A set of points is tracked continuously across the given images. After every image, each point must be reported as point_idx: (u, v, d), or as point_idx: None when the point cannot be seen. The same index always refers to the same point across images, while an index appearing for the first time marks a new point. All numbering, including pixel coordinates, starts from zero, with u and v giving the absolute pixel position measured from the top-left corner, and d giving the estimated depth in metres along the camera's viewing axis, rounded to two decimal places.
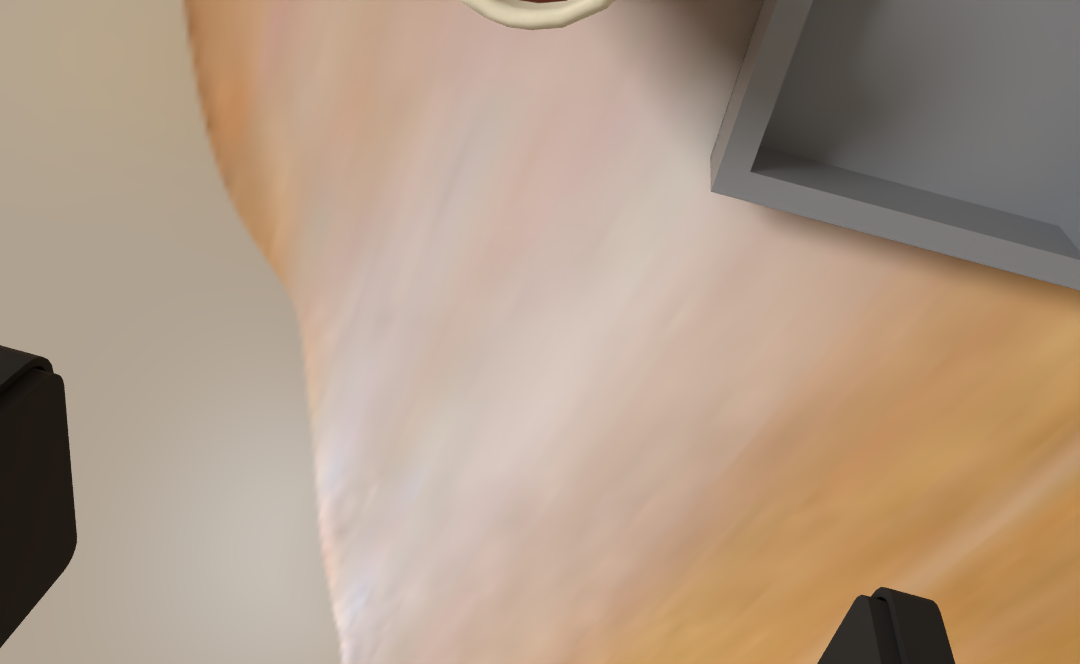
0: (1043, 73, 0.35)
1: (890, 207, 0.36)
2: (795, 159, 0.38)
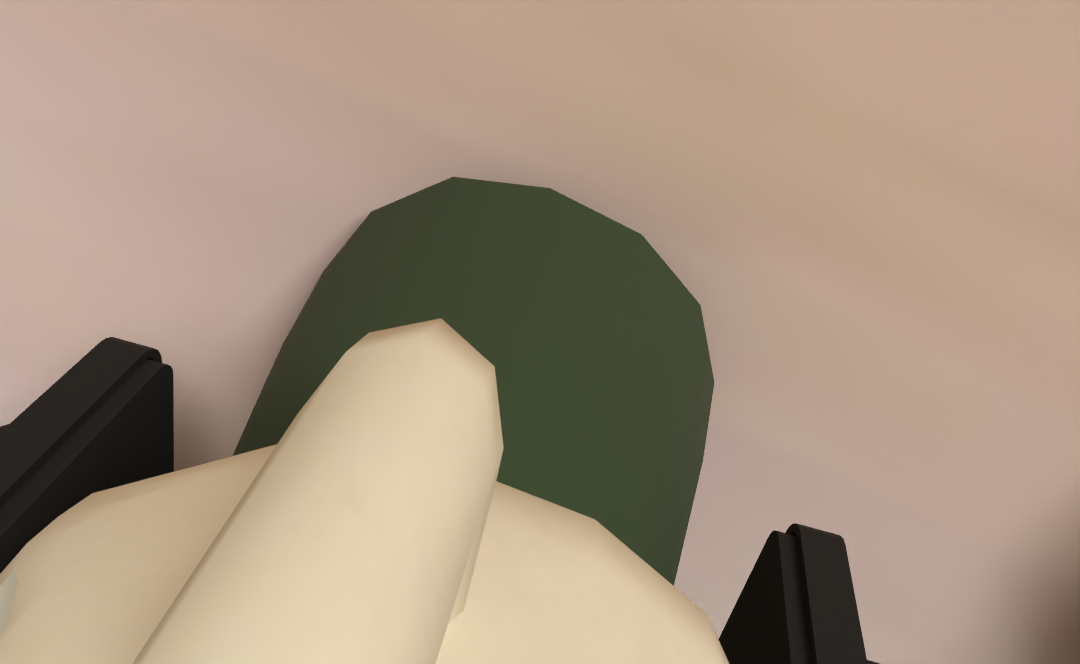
0: None
1: None
2: None
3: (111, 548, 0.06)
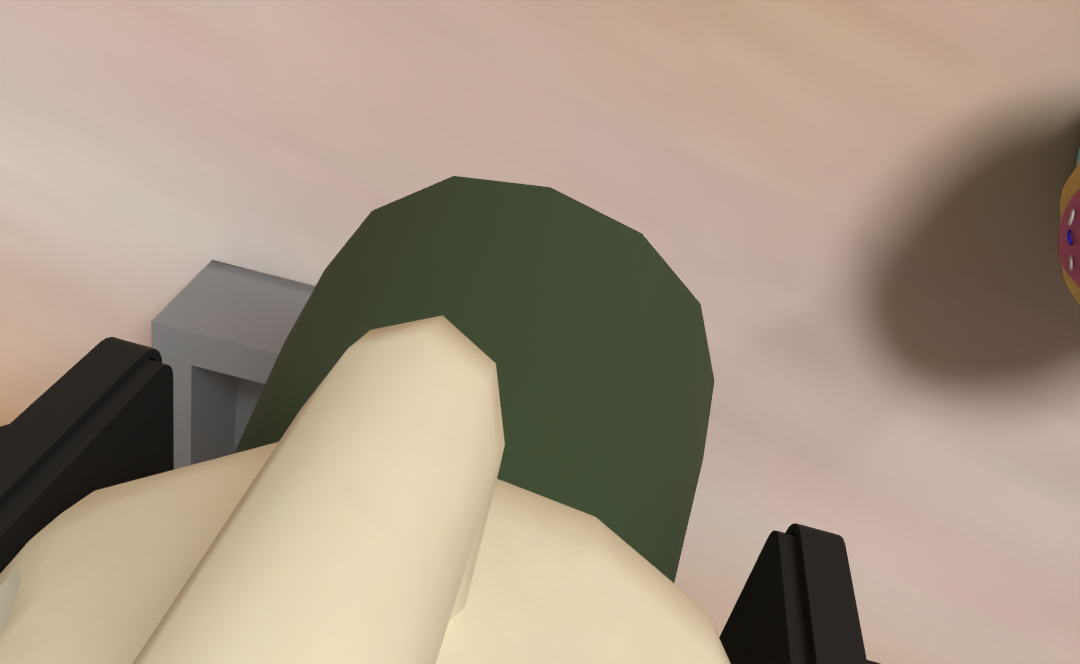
0: None
1: None
2: None
3: (114, 544, 0.06)
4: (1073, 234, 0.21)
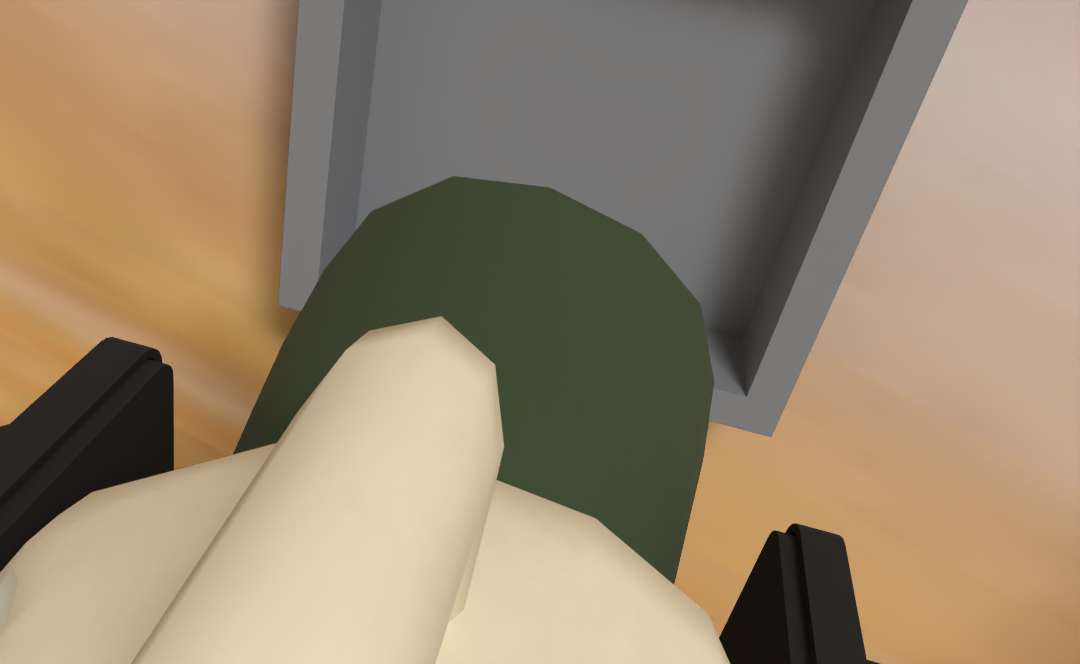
0: (537, 181, 0.29)
1: (345, 23, 0.24)
2: None
3: (112, 547, 0.06)
4: None
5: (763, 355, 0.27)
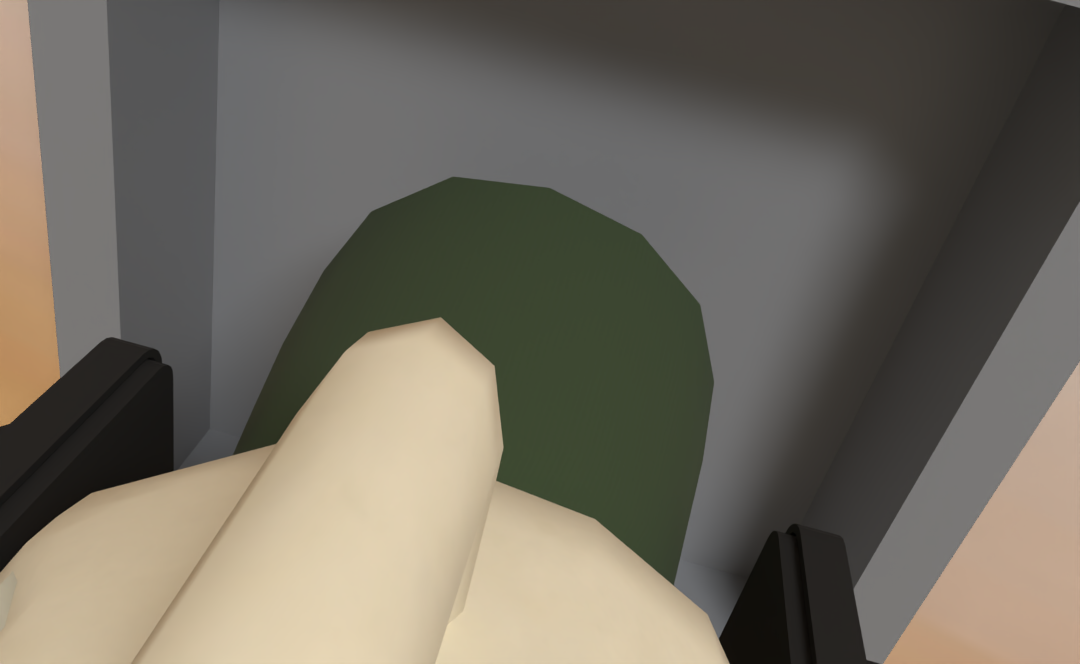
0: None
1: (124, 170, 0.14)
2: None
3: (111, 547, 0.06)
4: None
5: None
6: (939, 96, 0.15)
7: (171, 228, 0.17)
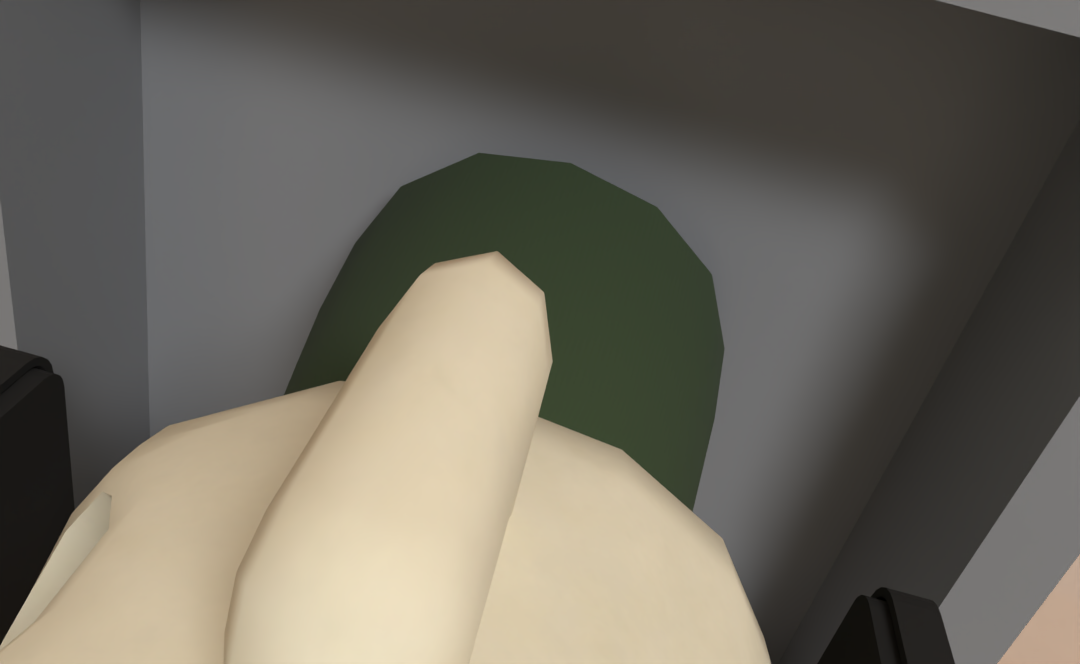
0: None
1: (19, 235, 0.12)
2: None
3: (198, 462, 0.07)
4: None
5: None
6: (972, 145, 0.13)
7: (88, 292, 0.14)
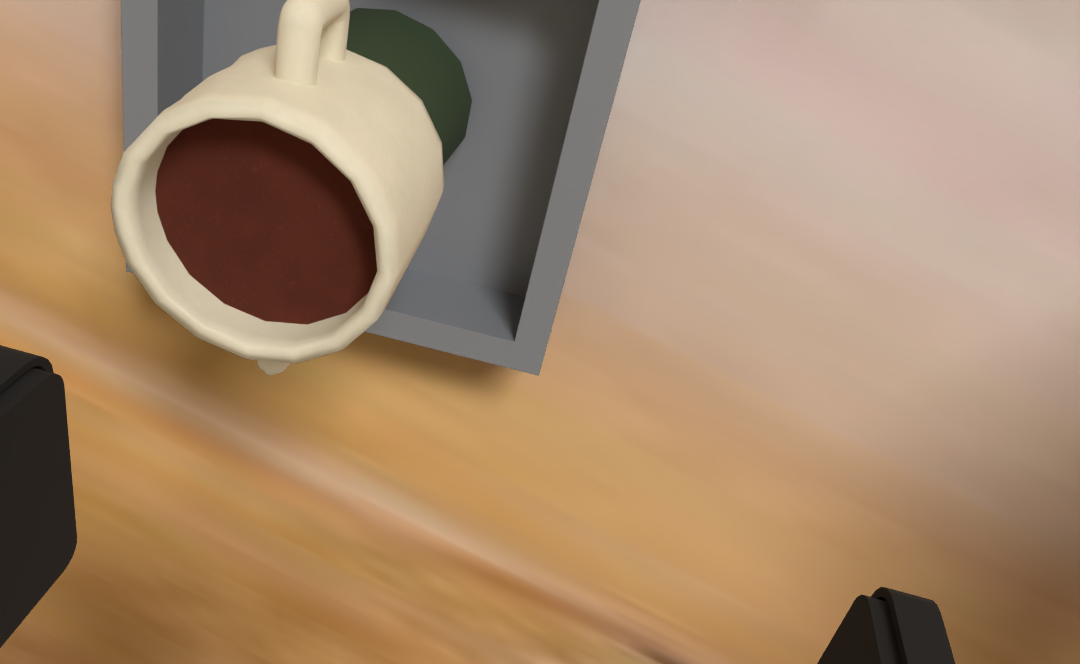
0: None
1: (161, 37, 0.30)
2: None
3: (258, 51, 0.24)
4: None
5: (523, 306, 0.33)
6: (563, 2, 0.31)
7: (181, 76, 0.32)
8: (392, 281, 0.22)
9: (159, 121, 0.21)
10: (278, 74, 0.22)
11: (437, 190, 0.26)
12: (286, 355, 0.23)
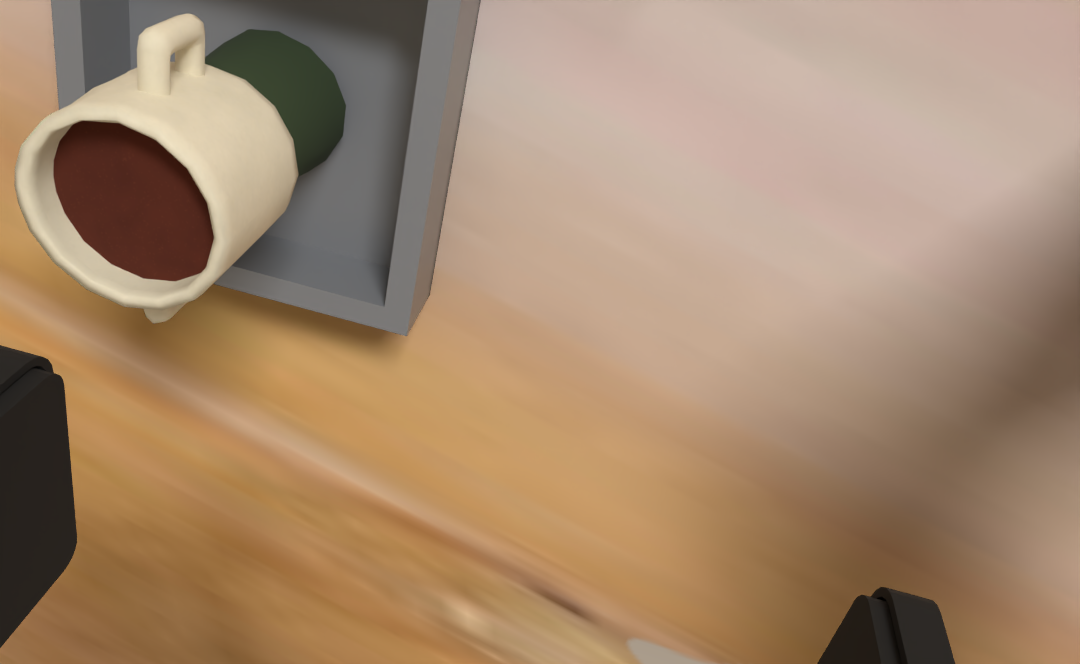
0: None
1: (87, 53, 0.37)
2: None
3: None
4: None
5: (389, 277, 0.40)
6: (415, 25, 0.37)
7: None
8: (225, 246, 0.29)
9: (44, 122, 0.28)
10: (139, 87, 0.28)
11: (286, 178, 0.33)
12: (153, 303, 0.30)
